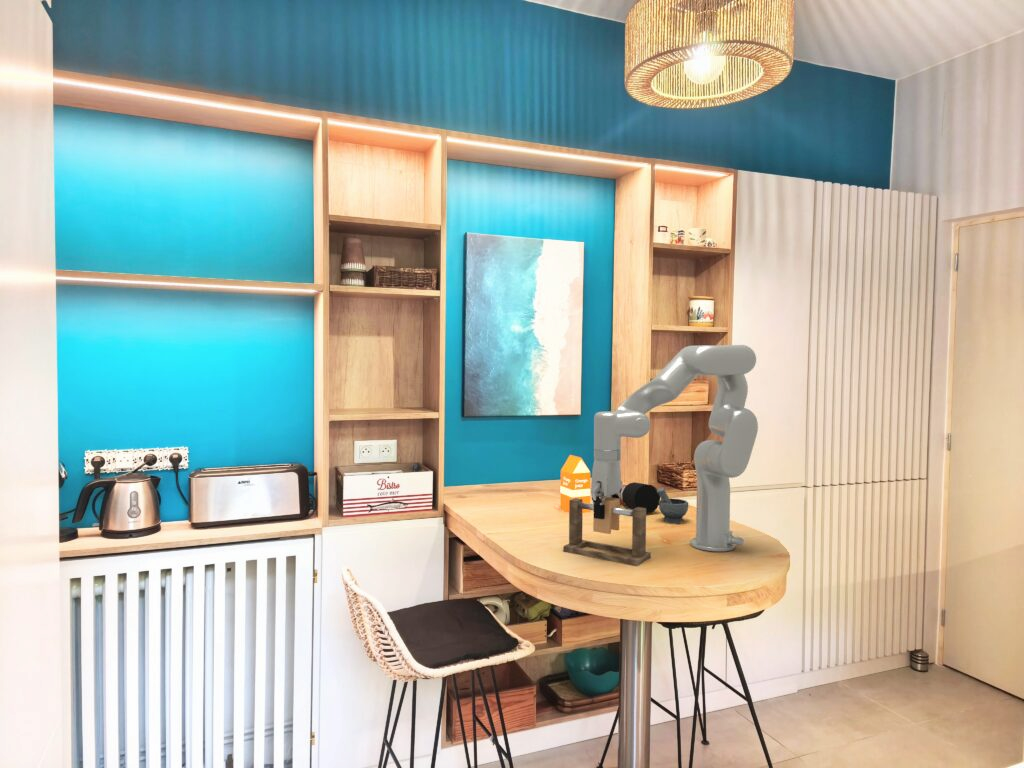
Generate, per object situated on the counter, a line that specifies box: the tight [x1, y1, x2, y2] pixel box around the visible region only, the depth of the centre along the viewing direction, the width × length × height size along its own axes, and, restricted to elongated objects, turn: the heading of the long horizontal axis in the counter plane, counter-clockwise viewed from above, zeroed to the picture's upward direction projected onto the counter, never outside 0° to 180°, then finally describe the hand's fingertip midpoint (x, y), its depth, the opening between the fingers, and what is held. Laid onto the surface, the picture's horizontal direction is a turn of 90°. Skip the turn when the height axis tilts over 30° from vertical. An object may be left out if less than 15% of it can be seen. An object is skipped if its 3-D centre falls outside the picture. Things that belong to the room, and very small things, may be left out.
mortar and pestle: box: [657, 486, 689, 525], centre depth 224 cm, size 11×9×12 cm
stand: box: [562, 498, 652, 567], centre depth 186 cm, size 23×9×14 cm, turn 55°
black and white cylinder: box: [609, 481, 661, 514], centre depth 250 cm, size 10×34×10 cm, turn 13°
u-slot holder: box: [592, 497, 621, 535], centre depth 186 cm, size 5×6×9 cm
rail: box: [578, 502, 633, 518], centre depth 186 cm, size 21×2×2 cm, turn 55°
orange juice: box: [559, 454, 591, 514], centre depth 240 cm, size 8×9×20 cm
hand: (607, 515), depth 186 cm, fingers open, 9 cm apart
